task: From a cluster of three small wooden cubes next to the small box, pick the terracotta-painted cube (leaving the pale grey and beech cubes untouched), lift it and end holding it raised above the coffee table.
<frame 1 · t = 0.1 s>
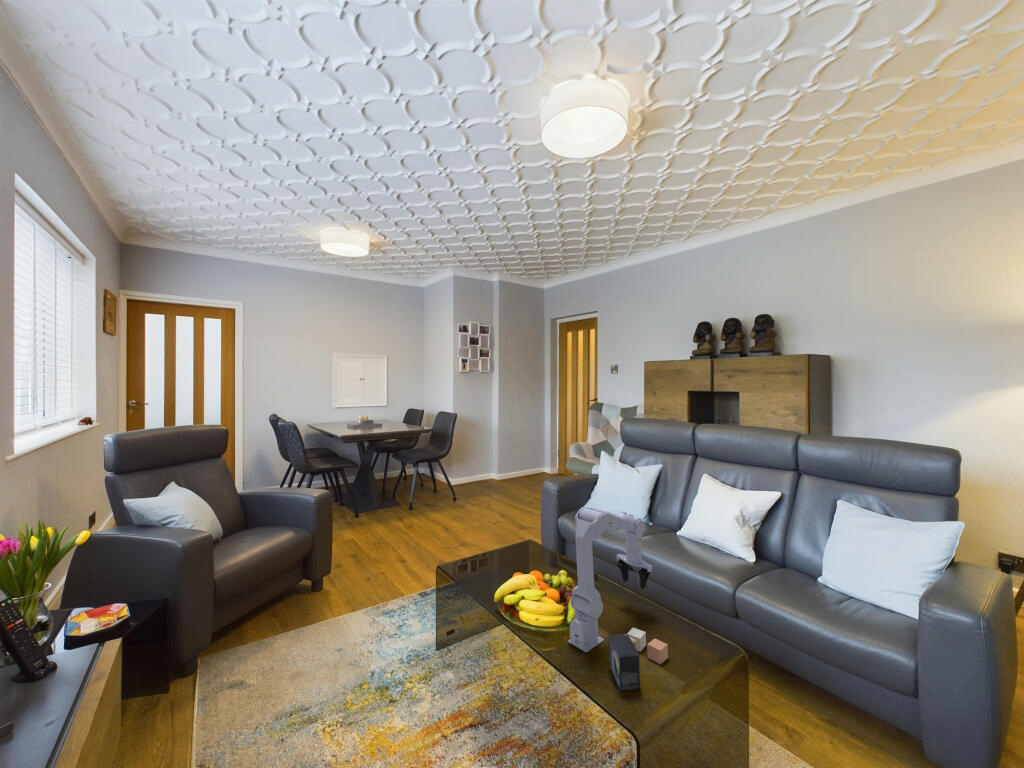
hand: (634, 584, 170), 10 cm above the table, fingers open, 7 cm apart
terracotta cube: (657, 658, 142), on the table
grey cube: (636, 646, 148), on the table
small box: (624, 679, 133), on the table
beech cube: (627, 653, 145), on the table
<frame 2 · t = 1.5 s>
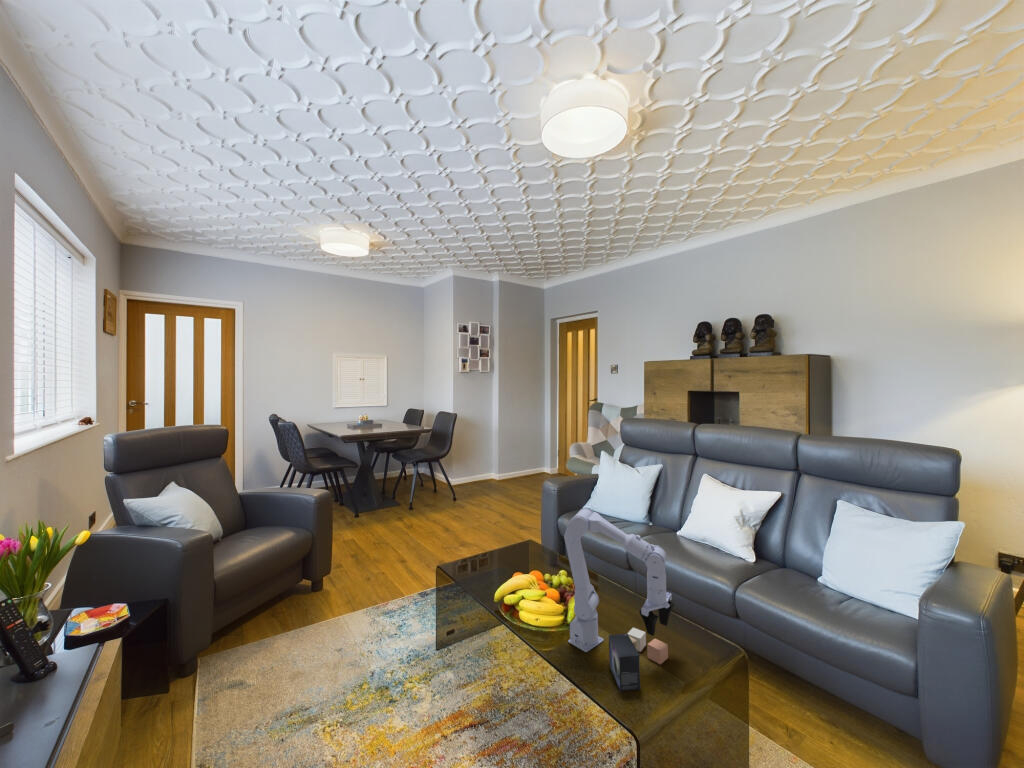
hand: (657, 629, 142), 9 cm above the table, fingers open, 7 cm apart
nothing on the table moved.
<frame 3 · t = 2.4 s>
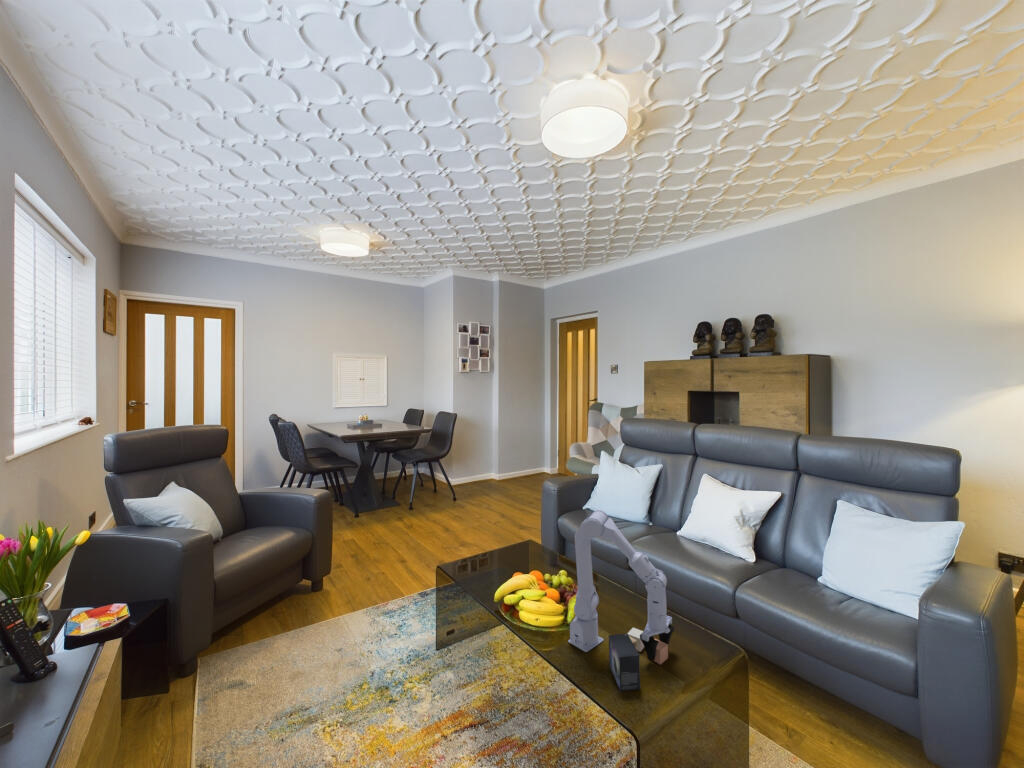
hand: (657, 653, 142), 1 cm above the table, fingers open, 7 cm apart
nothing on the table moved.
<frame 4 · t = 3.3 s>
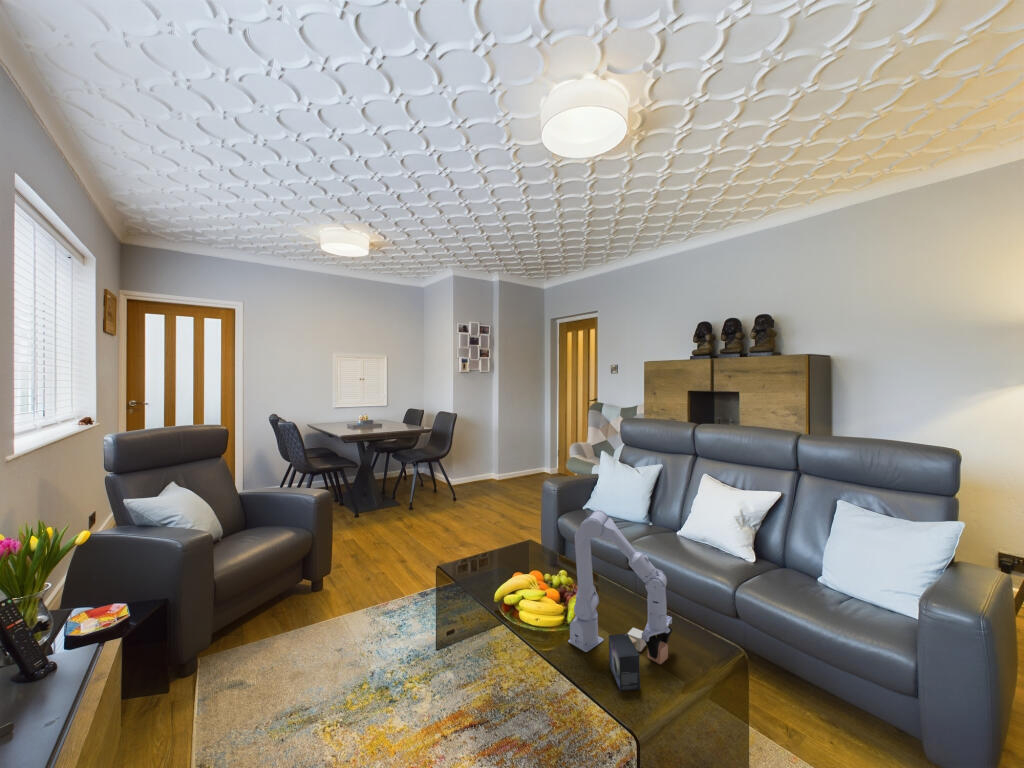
hand: (657, 653, 142), 1 cm above the table, fingers closed on terracotta cube, 4 cm apart
terracotta cube: (657, 657, 142), on the table, touching gripper
everything else where it was.
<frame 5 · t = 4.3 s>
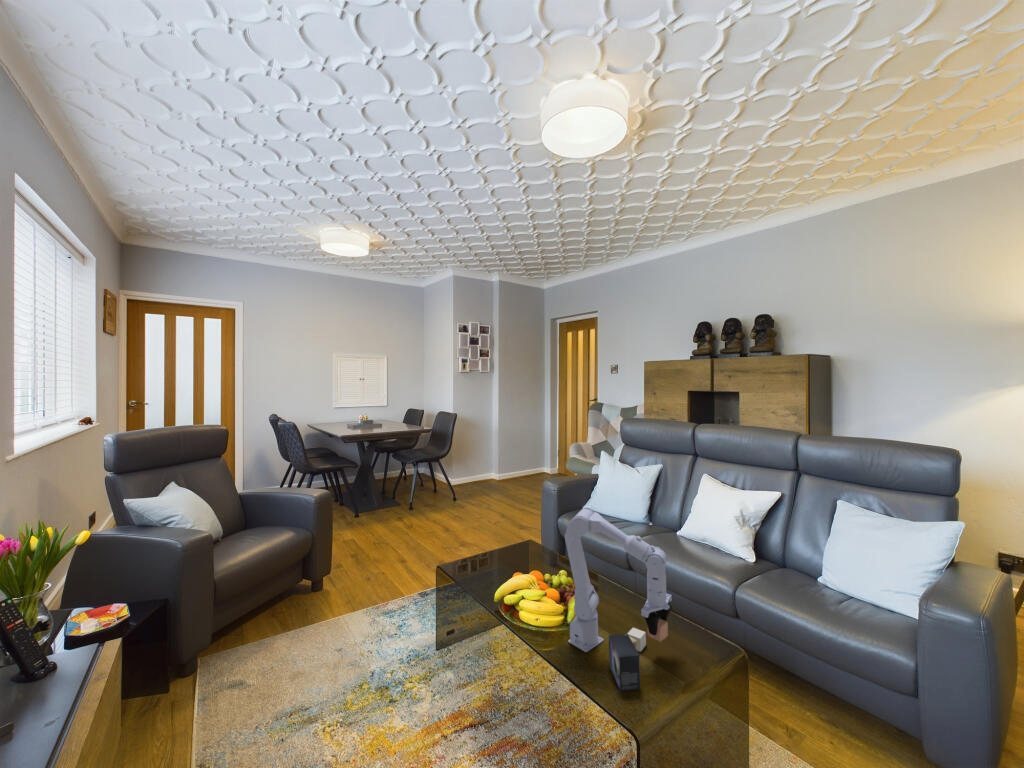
hand: (657, 630, 142), 9 cm above the table, fingers closed on terracotta cube, 4 cm apart
terracotta cube: (657, 635, 142), point 7 cm above the table, touching gripper
everything else where it was.
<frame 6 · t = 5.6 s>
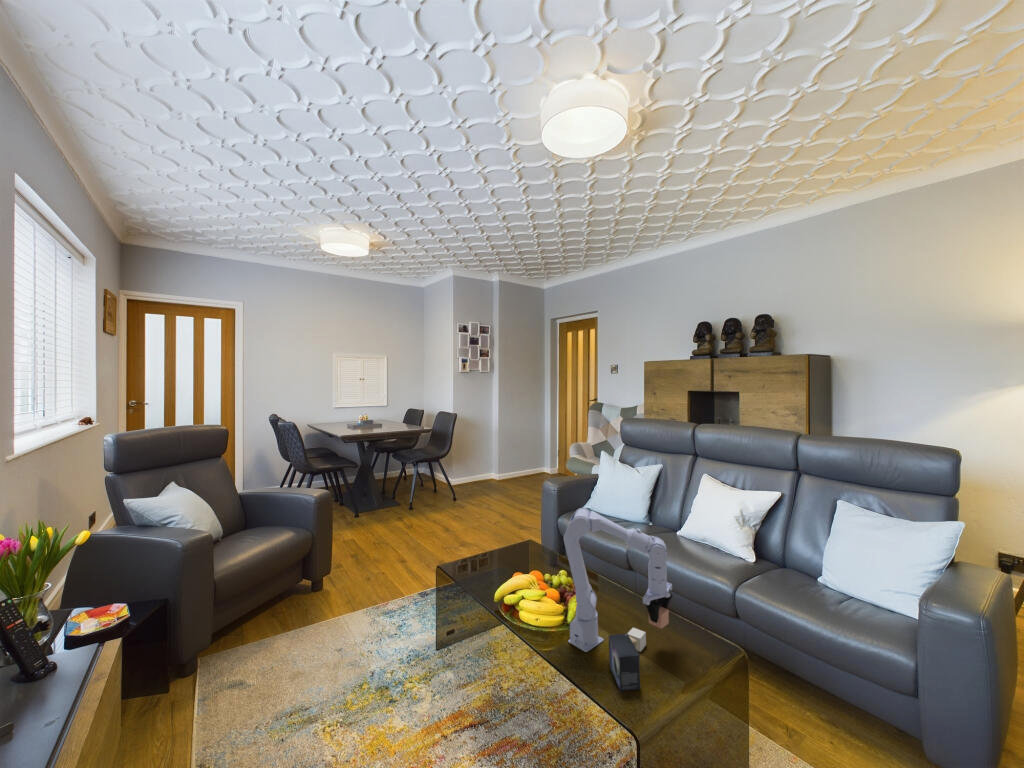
hand: (658, 618, 146), 10 cm above the table, fingers closed on terracotta cube, 4 cm apart
terracotta cube: (658, 623, 146), point 9 cm above the table, touching gripper
everything else where it was.
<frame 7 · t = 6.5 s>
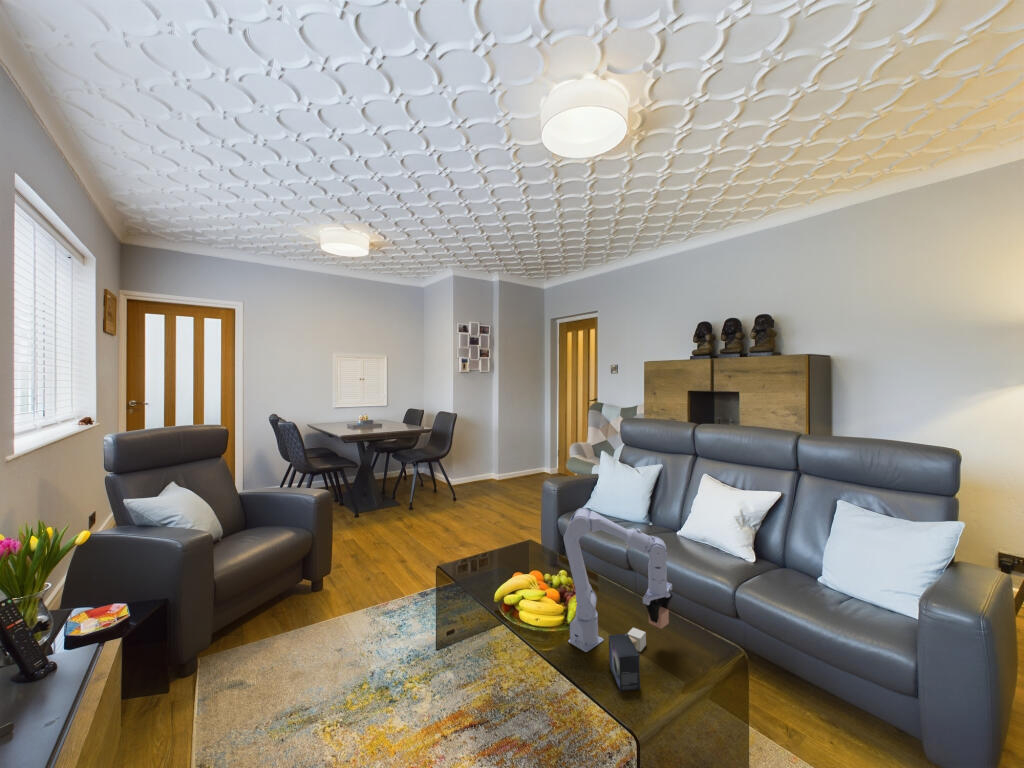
hand: (658, 618, 146), 10 cm above the table, fingers closed on terracotta cube, 4 cm apart
terracotta cube: (658, 623, 146), point 9 cm above the table, touching gripper
everything else where it was.
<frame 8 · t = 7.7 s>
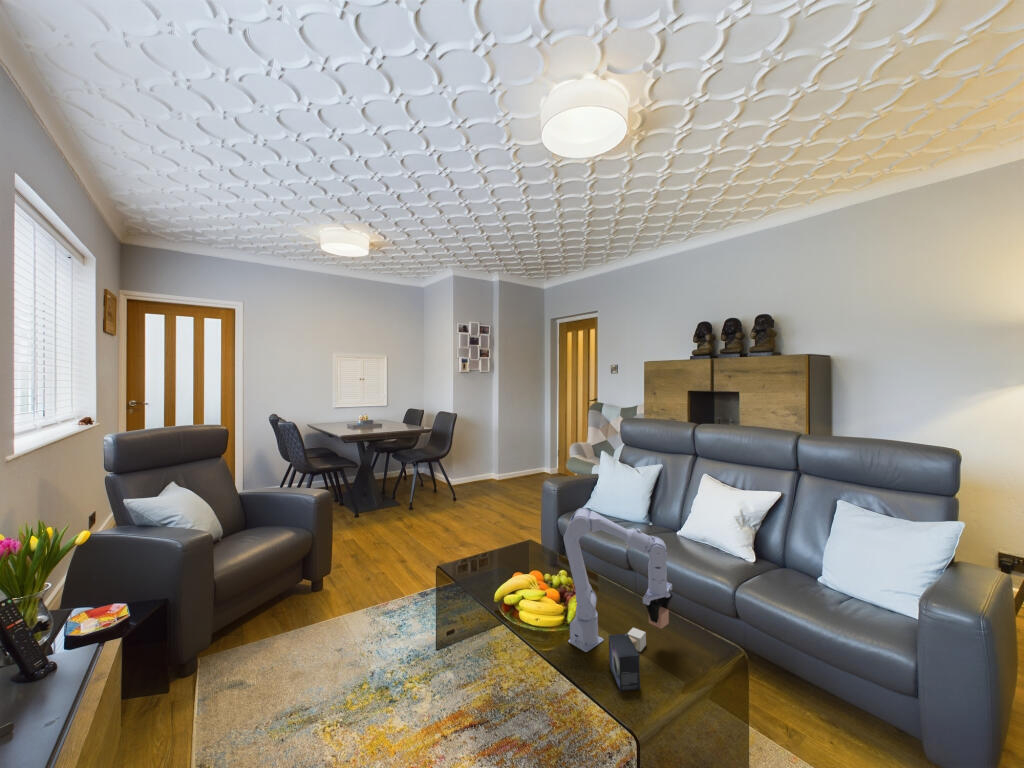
hand: (658, 618, 146), 10 cm above the table, fingers closed on terracotta cube, 4 cm apart
terracotta cube: (658, 623, 146), point 9 cm above the table, touching gripper
everything else where it was.
at the end: the gripper is holding terracotta cube; terracotta cube point 8.8 cm above the table; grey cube moved 0.1 cm from its start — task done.
